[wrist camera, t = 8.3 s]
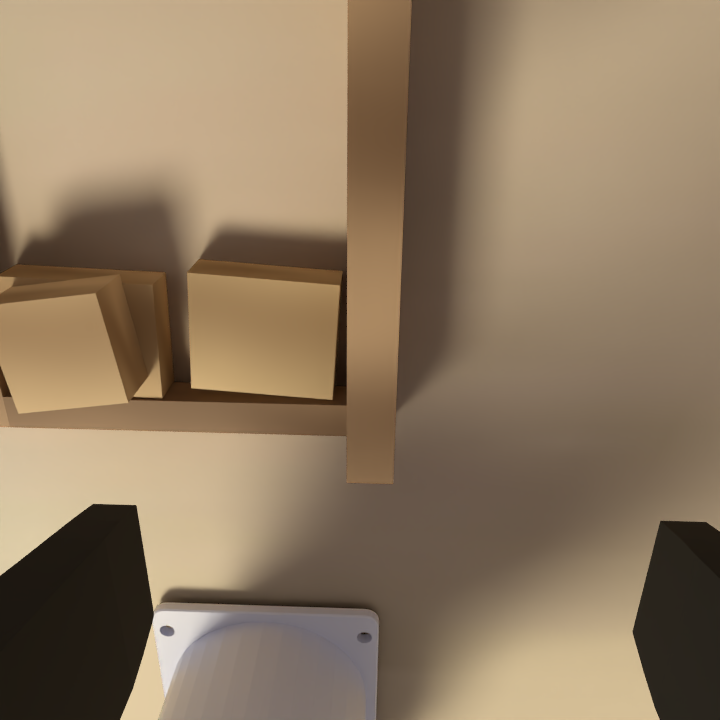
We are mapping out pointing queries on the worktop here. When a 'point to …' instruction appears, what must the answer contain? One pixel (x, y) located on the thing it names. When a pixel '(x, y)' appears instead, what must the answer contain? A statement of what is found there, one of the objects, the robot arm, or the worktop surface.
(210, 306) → the offcut
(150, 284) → the offcut
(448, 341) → the worktop surface
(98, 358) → the offcut
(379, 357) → the wooden tray
